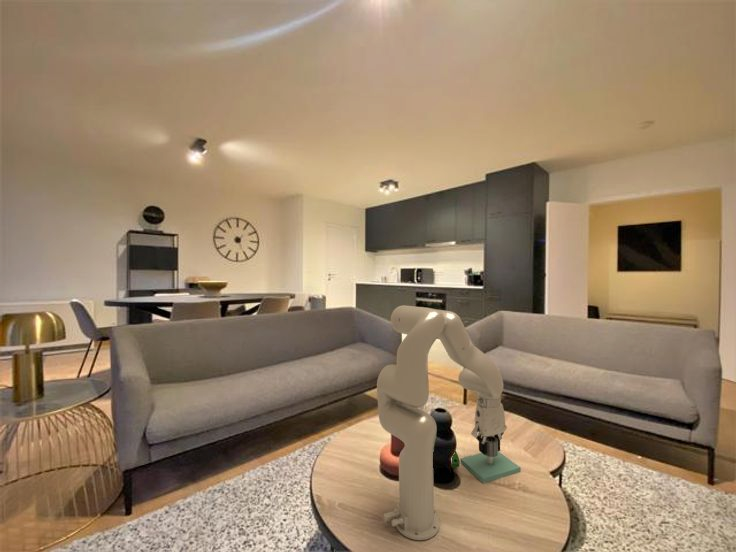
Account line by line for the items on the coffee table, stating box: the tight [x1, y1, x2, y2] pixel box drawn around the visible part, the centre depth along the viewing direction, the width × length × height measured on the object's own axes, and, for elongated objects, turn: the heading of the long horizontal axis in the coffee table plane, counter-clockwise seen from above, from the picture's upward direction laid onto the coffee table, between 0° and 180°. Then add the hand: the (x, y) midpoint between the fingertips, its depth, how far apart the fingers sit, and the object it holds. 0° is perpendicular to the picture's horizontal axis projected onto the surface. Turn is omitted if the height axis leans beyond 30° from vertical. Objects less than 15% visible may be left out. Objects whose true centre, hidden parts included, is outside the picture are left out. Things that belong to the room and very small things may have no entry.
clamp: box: [452, 450, 461, 468], centre depth 111 cm, size 12×6×9 cm, turn 85°
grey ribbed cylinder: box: [481, 435, 498, 457], centre depth 112 cm, size 5×5×5 cm
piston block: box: [459, 451, 522, 484], centre depth 112 cm, size 16×12×8 cm
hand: (489, 450), depth 112 cm, fingers closed on grey ribbed cylinder, 5 cm apart
